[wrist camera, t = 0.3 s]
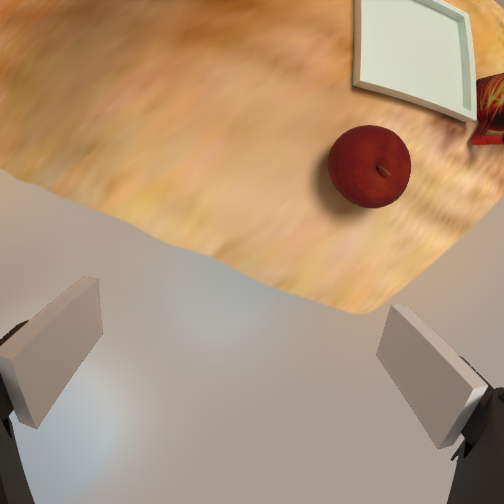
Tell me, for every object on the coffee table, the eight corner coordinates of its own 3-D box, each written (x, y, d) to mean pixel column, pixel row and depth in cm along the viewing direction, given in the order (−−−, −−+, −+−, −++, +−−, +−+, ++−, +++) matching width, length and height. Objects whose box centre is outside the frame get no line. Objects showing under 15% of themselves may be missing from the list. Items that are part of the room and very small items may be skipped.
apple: (302, 169, 38) (323, 169, 29) (347, 115, 37) (378, 101, 27) (355, 216, 40) (388, 231, 31) (396, 163, 39) (436, 165, 29)
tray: (353, -24, 31) (359, -33, 28) (458, 19, 32) (468, 14, 29) (351, 85, 36) (360, 80, 33) (464, 122, 37) (476, 120, 34)
